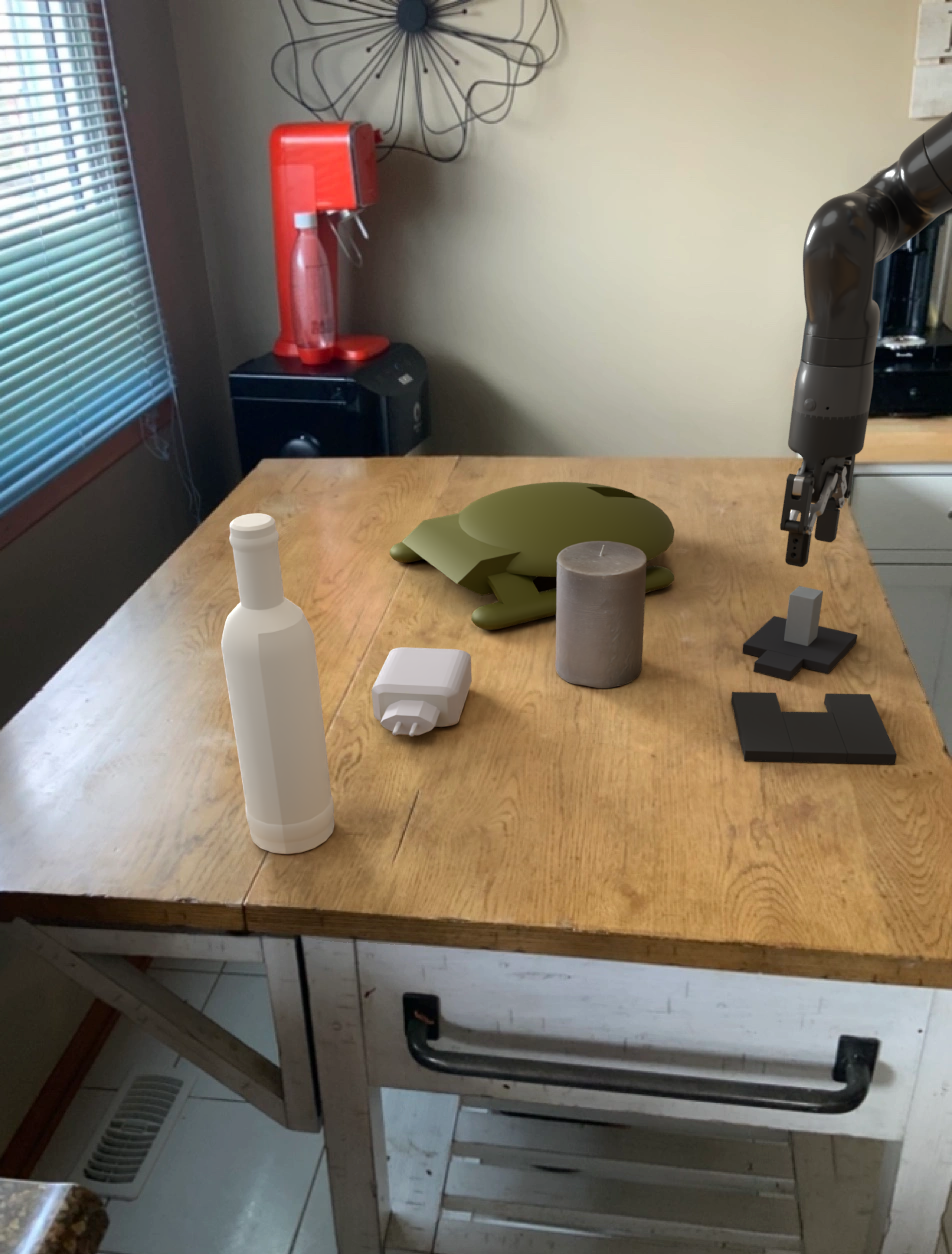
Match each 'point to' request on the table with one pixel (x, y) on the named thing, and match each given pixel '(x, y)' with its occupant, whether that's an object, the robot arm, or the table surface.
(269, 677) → the bottle
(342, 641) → the table surface
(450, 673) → the charger
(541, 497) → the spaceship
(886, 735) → the pad
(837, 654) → the loose pad
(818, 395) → the robot arm
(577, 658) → the pillar candle
